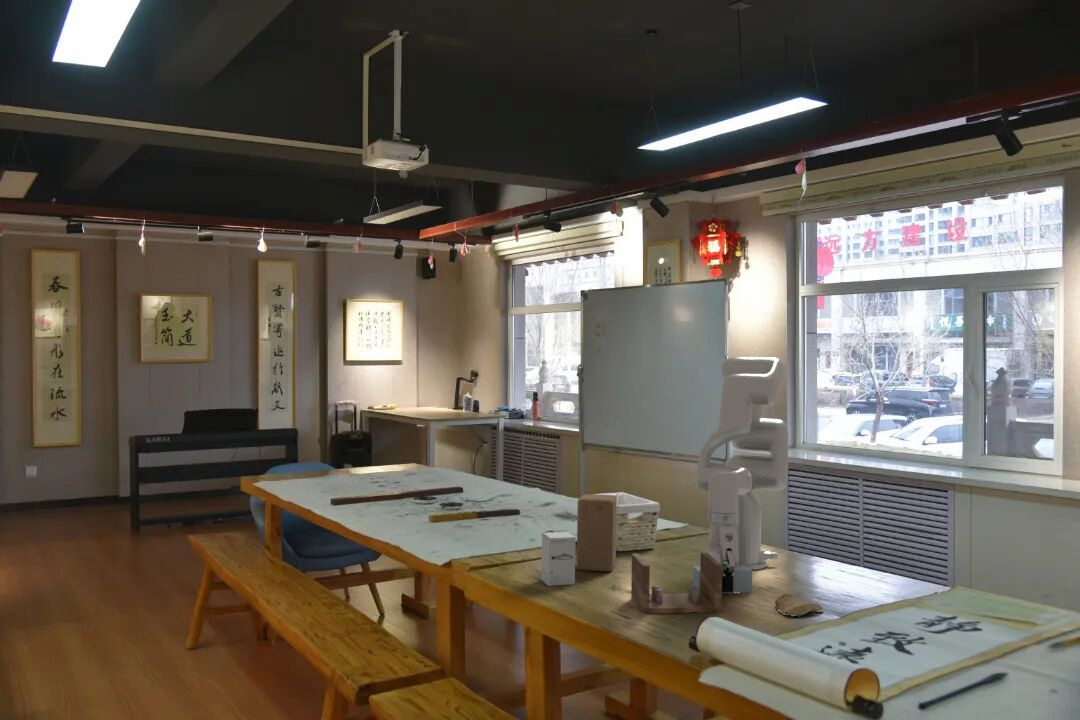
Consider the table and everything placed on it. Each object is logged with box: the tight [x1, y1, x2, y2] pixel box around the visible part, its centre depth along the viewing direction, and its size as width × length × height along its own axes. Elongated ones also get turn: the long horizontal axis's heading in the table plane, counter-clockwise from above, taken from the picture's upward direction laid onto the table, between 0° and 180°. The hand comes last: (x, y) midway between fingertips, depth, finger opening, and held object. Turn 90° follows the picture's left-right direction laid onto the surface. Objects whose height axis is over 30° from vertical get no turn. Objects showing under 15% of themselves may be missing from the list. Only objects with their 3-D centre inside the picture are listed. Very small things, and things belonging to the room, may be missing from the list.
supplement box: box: [540, 531, 577, 587], centre depth 229 cm, size 7×7×13 cm
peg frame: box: [630, 552, 723, 614], centre depth 209 cm, size 19×12×11 cm, turn 96°
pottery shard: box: [774, 593, 823, 616], centre depth 206 cm, size 11×4×10 cm
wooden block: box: [576, 493, 617, 573], centre depth 245 cm, size 10×10×20 cm
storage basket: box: [595, 491, 661, 552], centre depth 276 cm, size 24×16×15 cm
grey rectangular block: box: [692, 565, 753, 594], centre depth 222 cm, size 14×5×6 cm, turn 96°
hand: (722, 587), depth 222 cm, fingers open, 6 cm apart
